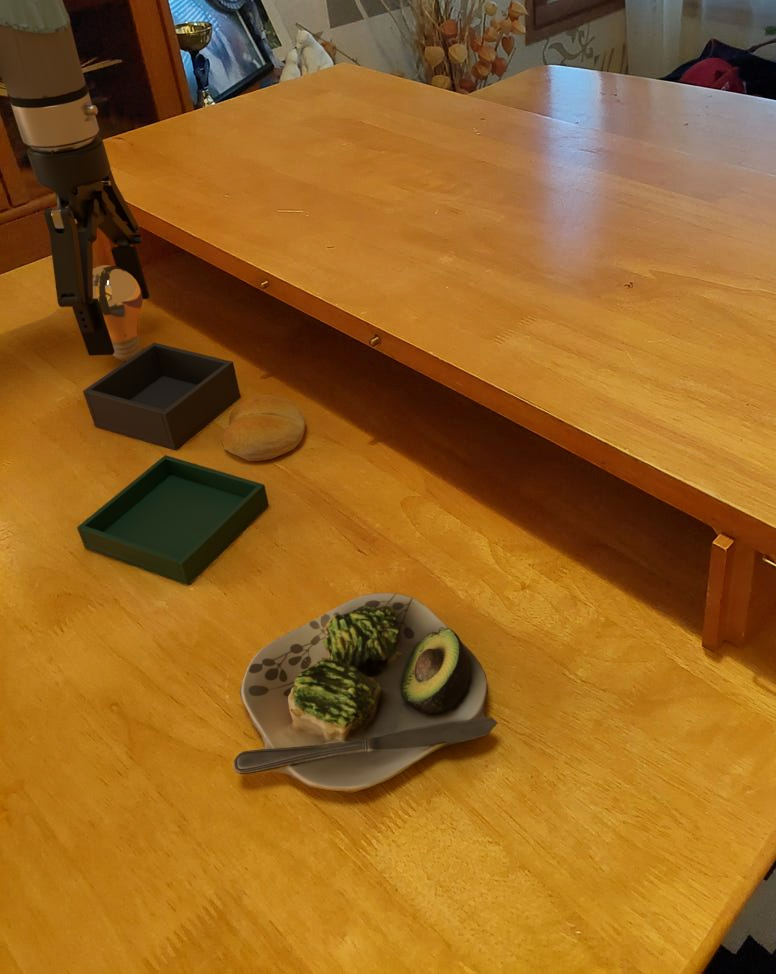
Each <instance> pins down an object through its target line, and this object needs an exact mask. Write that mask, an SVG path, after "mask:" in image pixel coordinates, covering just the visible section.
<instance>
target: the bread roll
mask: <svg viewBox="0 0 776 974" xmlns="http://www.w3.org/2000/svg"><path fill="white" fill-rule="evenodd" d="M306 425H307V424H306V419H305V416H304V414H303V411H302V409H301V408H300V407H299V406H298V405H297V404H296V403H294V402H293V401H292V400H290V399H288V398H286V397H283V396H282V395H278V394H277V395H276V394H258V395H255V396H252V397H249V398H247V399H245V400H243V401H242V402H241V403H239V404H238V405H237V406H236V407H234V409H233V410H232V411H231V413H230V415H229V420H228V426H226V427H225V429H224V430H223V433H222V436H221V441H222V445H223V447H224V449H225V450H226V451H227V452H229V453H231V454H233V455H235V456H237V457H239V458H241V459H243V460H246V461H249V462H250V461H251V462H252V461H253V462H261V461H267V460H273V459H275V458H277V457H281V456H282V455H285V454H287V453H288V452H290V451H292V450H295V448H297V446H298V445H299V444H300V442H301V441H302V440H303V438H304V435H305V428H306Z"/></svg>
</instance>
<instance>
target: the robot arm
mask: <svg viewBox="0 0 776 974" xmlns="http://www.w3.org/2000/svg"><path fill="white" fill-rule="evenodd" d="M82 68H83V67H82V64H81V61H80V58H79V54H78V50H77V46H76V41H75V37H74V33H73V29H72V25H71V19H70V15H69V13H68V11H67V9H66V5H65V4H64V1H63V0H0V80H1V79H2V83H3V85H4V88H5V90H6V93H7V97H8V101H9V103H10V107H11V109H12V112H13V117H14V118H15V122H16V125H17V128H18V131H19V134H20V137H21V140H22V142H23V144H25V145H27V146H28V148H27V150H26V154H27V156H28V160H29V163H30V165H31V168H32V171H33V174H34V177H35V180H36V182H37V183H38V184H39V185H40V186H42V187H44V188H48V189H50V190H51V191H53V192H54V193H55V198H56V207H54V208H44V210H43V215H44V219H45V223H46V227H47V230H48V235H49V242H50V243H49V244H50V250H51V259H52V268H53V275H54V283H55V291H56V297H57V298H56V301H57V304H58V307H60V308H71V309H72V312H73V314H74V317H75V319H76V322H77V325H78V328H79V329H78V330H79V331H80V334H81V337H82V339H83V342H84V346H85V349H86V351H87V354H88V356H91V357H92V356H113V354H114V352H115V350H114V347H113V344H112V341H111V338H110V335H109V332H108V329H107V325H106V322H105V319H104V316H103V313H102V310H101V307H100V304H99V301H98V298H97V299H93V268H94V265H93V263H94V260H93V258H94V257H93V255H94V254H93V253H94V252H93V244H94V242H96V241H97V239H98V229H99V230H100V231H101V233H102V234H103V235H104V236H105V237H106V238H107V239H108V240H109V241H110V242H111V243H112V245H114V246H113V247H112V248H111V249H110V251H111V254H112V257H113V261H114V264H115V266H117V267H119V268H122V269H124V270H126V271H127V272H129V273H130V274H131V275H132V276H133V277H134V278H135V279H136V281H137V282H138V284H139V286H140V288H141V291H142V300H148V299H149V298H150V293H149V289H148V285H147V282H146V277H145V275H144V271H143V268H142V264H141V260H140V257H139V254H138V250H137V247H136V246H134V245H142V244H143V236H142V234H141V233H139V232H140V227H139V224H138V222H137V220H136V218H135V216H134V215H133V213H132V211H131V209H130V208H129V205H128V204H127V201H126V199H125V198H124V195H123V194H122V192H121V191H120V188H119V187H118V184H117V183H116V181H115V178H114V175H113V172H112V169H111V163H110V160H109V157H108V153H107V149H106V147H105V143H104V139H103V138H101V137H100V135H98V133H99V131H100V128H99V124H98V119H97V117H96V115H98V113H99V110H98V107H97V106H96V105H94V104H93V103H92V100H91V96H90V93H89V88H88V85H87V82H86V79H85V75H84V72H83V69H82Z"/></svg>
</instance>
